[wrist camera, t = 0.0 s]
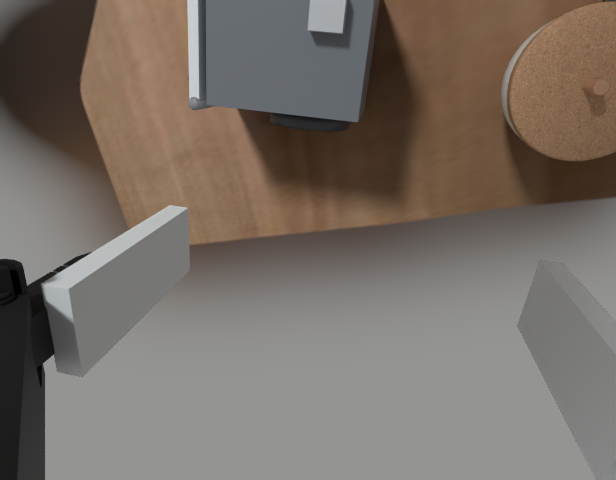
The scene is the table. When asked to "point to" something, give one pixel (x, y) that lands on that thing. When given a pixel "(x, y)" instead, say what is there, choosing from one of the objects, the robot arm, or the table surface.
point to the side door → (197, 54)
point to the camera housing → (291, 59)
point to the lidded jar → (566, 85)
